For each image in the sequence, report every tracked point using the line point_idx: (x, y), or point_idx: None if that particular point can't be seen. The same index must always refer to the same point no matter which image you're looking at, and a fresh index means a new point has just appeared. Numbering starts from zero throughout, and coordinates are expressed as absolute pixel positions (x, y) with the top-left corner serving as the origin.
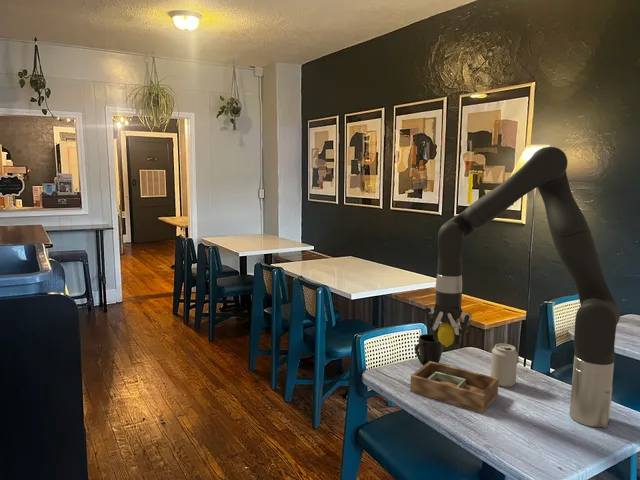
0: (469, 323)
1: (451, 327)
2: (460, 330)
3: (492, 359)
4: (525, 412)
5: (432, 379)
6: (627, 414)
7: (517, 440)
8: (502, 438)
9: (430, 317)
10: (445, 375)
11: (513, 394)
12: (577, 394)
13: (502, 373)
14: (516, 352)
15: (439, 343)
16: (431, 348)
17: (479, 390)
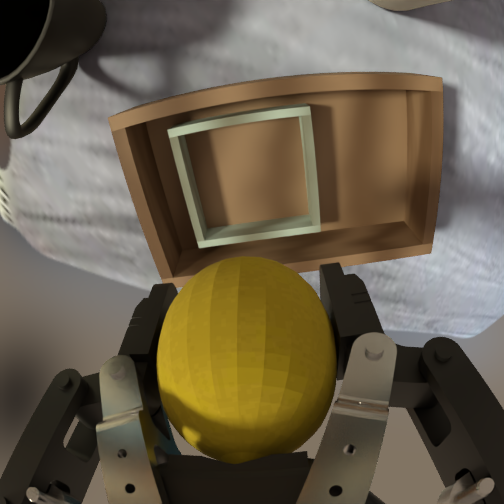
0: (498, 421)
1: (308, 438)
2: (395, 403)
3: None
4: (489, 147)
5: (191, 176)
6: None
7: (475, 275)
8: (453, 288)
9: (82, 473)
10: (218, 127)
11: (444, 47)
12: None
13: (425, 5)
14: None
15: (58, 12)
16: (52, 56)
17: (365, 109)
